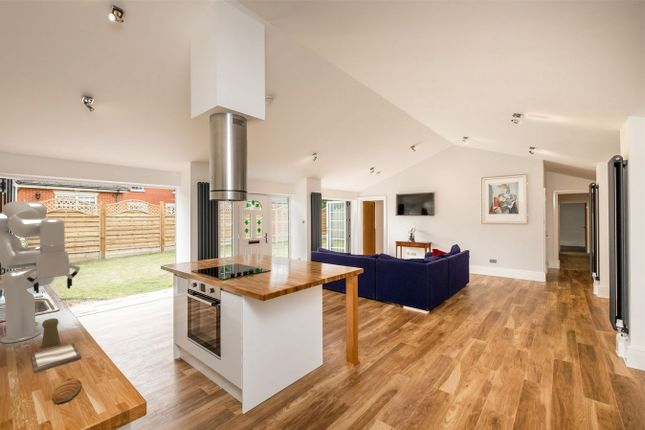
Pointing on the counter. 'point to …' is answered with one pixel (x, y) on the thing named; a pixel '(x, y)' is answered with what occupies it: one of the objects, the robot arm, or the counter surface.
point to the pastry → (66, 389)
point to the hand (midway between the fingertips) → (53, 290)
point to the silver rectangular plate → (54, 357)
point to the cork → (50, 333)
